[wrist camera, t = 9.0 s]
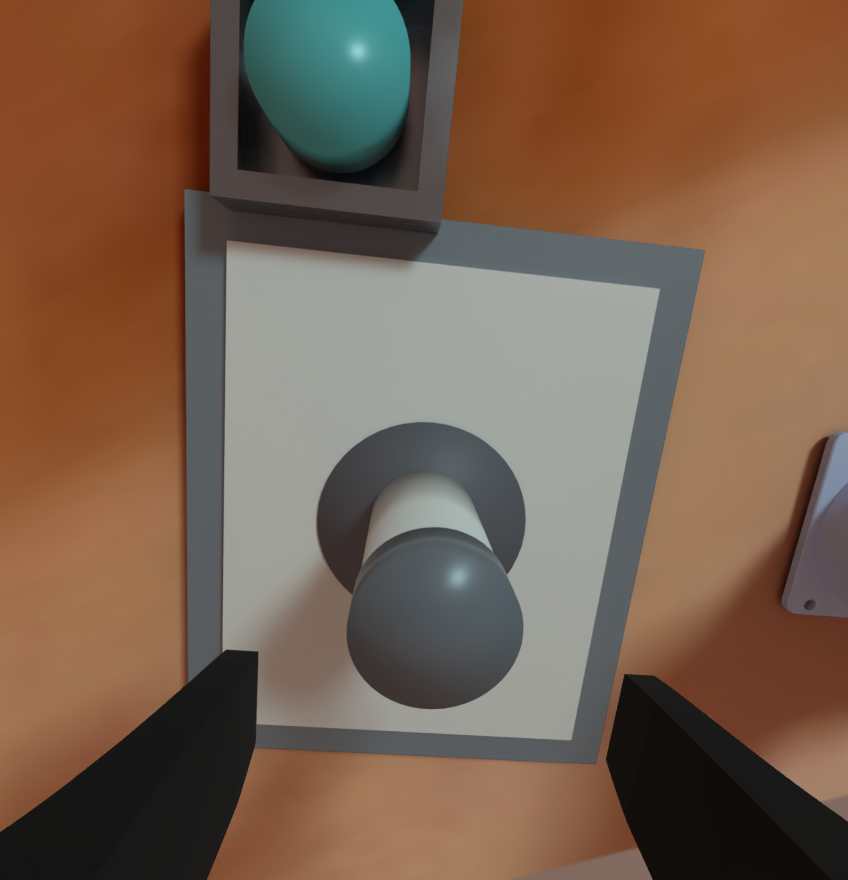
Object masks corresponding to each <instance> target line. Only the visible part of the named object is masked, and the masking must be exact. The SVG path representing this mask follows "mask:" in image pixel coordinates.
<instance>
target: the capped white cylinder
mask: <svg viewBox="0 0 848 880" xmlns="http://www.w3.org/2000/svg"><path fill="white" fill-rule="evenodd" d="M523 627H524V623H523V616H522V611H521V607H520V604H519V602H518V599H517V597H516V595H515V592H514V590H513V588H512V585H511V583H510V581H509V579H508V576H507V574H506V572H505V570H504V567H503V565H502V564H501V562H500V561H499V559H498V557H497V556H496V555H495V554H494V553H493V550H492V548H491V545H490V543H489V541H488V538H487V536H486V533H485V531H484V529H483V526H482V524H481V522H480V519H479V517H478V514H477V512H476V510H475V507H474V505H473V502H472V500H471V498H470V496H469V494H468V493H467V491H466V490H465V489H464V488H463V486H462V485H460V484H459V483H458V482H457V481H456V480H454V479H453V478H451V477H449V476H447V475H445V474H442V473H440V472H435V471H428V470H419V471H413V472H409V473H405V474H403V475H401V476H398V477H397V478H395V479H394V480H392V481H391V482H390V483H388V484H387V485H386V486H385V487H384V488H383V489H382V491H381V492H380V493H379V495H378V497H377V498H376V500H375V503H374V505H373V509H372V513H371V519H370V524H369V530H368V535H367V541H366V546H365V552H364V557H363V563H362V568H361V570H360V572H359V574H358V576H357V579H356V582H355V586H354V591H353V596H352V601H351V606H350V611H349V616H348V621H347V631H346V635H347V645H348V650H349V654H350V656H351V659H352V662H353V664H354V666H355V667H356V669H357V671H358V673H359V674H360V675H361V677H362V678H363V679H364V680H365V681H366V682H367V683H368V684H369V685H370V686H371V687H372V688H373V689H374V690H375V691H377V692H378V693H379V694H381V695H382V696H384V697H386V698H388V699H389V700H392V701H394V702H396V703H399V704H402V705H405V706H409V707H413V708H419V709H445V708H451V707H456V706H459V705H462V704H466V703H468V702H470V701H473V700H475V699H477V698H479V697H481V696H482V695H484V694H486V693H487V692H489V691H490V690H491V689H493V688H494V687H495V686H496V685H497V684H498V683H499V682H500V681H502V679H503V678H504V677H505V676H506V675H507V673H508V672H509V671H510V669H511V668H512V666H513V665H514V663H515V661H516V659H517V656H518V654H519V651H520V648H521V645H522V639H523Z"/></svg>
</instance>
